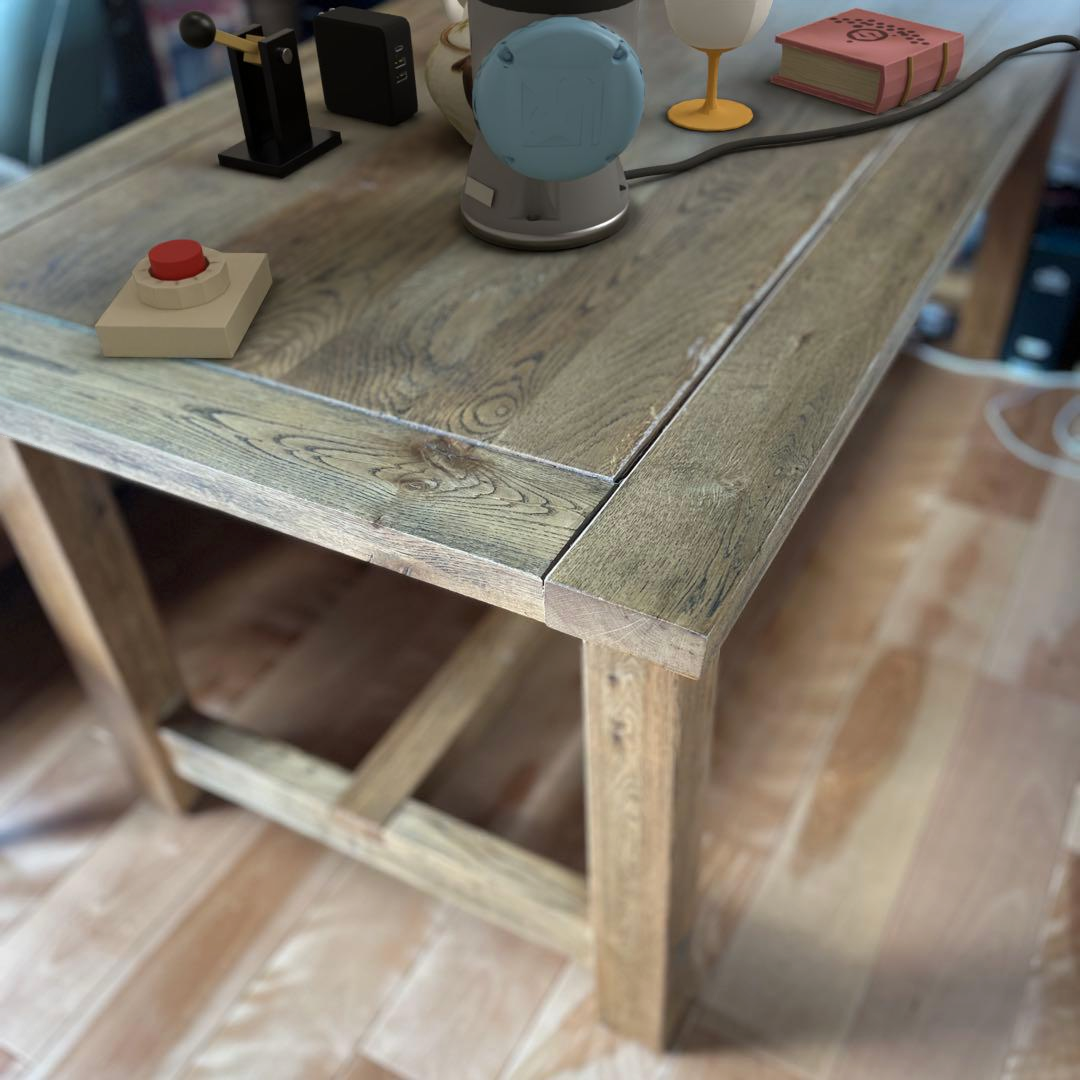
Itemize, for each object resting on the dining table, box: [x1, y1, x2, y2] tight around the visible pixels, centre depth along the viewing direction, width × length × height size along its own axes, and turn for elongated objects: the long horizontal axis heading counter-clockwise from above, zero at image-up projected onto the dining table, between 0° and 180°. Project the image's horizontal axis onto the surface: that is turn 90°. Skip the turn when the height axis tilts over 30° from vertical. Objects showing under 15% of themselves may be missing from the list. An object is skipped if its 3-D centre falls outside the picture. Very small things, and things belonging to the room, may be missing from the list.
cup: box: [664, 0, 774, 132], centre depth 113 cm, size 12×12×17 cm
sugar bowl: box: [424, 18, 476, 146], centre depth 111 cm, size 20×15×15 cm
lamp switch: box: [217, 23, 343, 179], centre depth 110 cm, size 10×8×12 cm
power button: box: [147, 238, 206, 281], centre depth 85 cm, size 4×4×2 cm
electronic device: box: [312, 5, 419, 126], centre depth 119 cm, size 4×10×10 cm, turn 56°
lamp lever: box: [178, 9, 266, 67], centre depth 103 cm, size 12×3×3 cm, turn 152°
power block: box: [94, 246, 273, 359], centre depth 87 cm, size 12×10×4 cm
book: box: [770, 7, 965, 115], centre depth 123 cm, size 14×15×5 cm
